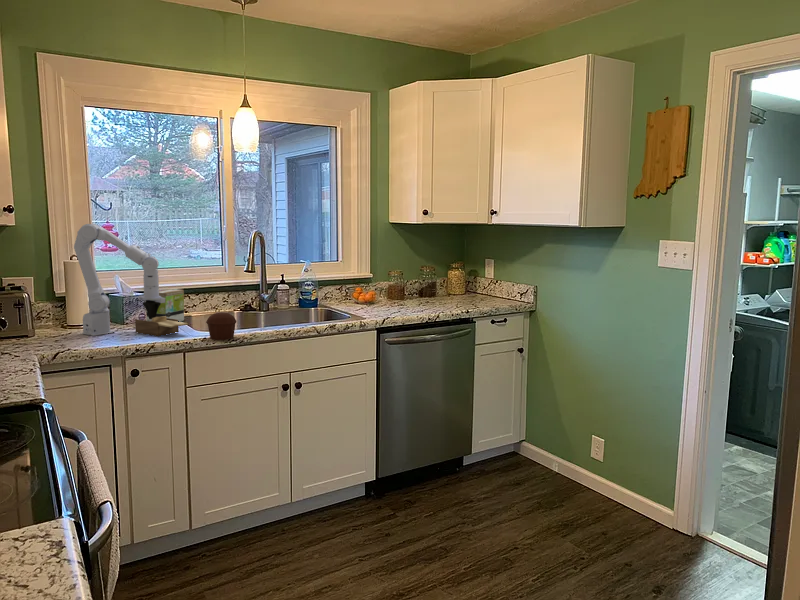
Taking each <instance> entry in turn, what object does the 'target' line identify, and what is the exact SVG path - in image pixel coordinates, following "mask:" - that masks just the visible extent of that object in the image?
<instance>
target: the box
mask: <svg viewBox="0 0 800 600" xmlns="http://www.w3.org/2000/svg"><path fill="white" fill-rule="evenodd" d="M166 319H167V320H170V321H177V322H178V320H176V319H170V318H166ZM134 321H135V323H134V324H135V333H136V332H138V333H137V334H140V333H143V334H142V335H146V334H149V335H148V336H152V335H154V336H153V337H162V336H161V335H164V336H167V335H166V334H170V333H175V332H180V331H179V330H180V329H179V326H177V327H165V326H159V323H157V322H152V321H146V320H143V319H134ZM175 334H176V333H175ZM170 335H171V334H170Z"/></svg>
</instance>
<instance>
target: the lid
mask: <svg viewBox="0 0 800 600" xmlns="http://www.w3.org/2000/svg"><path fill="white" fill-rule="evenodd" d="M152 322H157V323H159V326H165V327H177V326H178V327H182V326H188V325H189V323H188V322H184V321H179V322H177V321H170V320H167V319H166V316H162V317H155V318H152Z"/></svg>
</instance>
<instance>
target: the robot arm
mask: <svg viewBox="0 0 800 600" xmlns="http://www.w3.org/2000/svg"><path fill="white" fill-rule="evenodd" d="M96 241H106V242H107V243H108V244H111V245H113V246H114V247H116V249H119V250H121V251H122V252H124V254H125V258H126V259H127V258H128V259H129V260H131V262H133V263H134V264H137V265H138V266H141V267H142V269H143V276H142V277H143V295H142V294H141V295H138V297H137V298H138V301H144V302H142V305H143V307H144V308H145V311H146V310H147V313H148V317H149V319H152V318H155V317H156V314H157V310H158V308H159V306H160V304H161V303H165V298H162V297H161V296H159V290H160V286H159V285H160V284H159V282H160V281H159V280H160V279H159V269H158V268H159V264H160V263H159V260H158V259H157V258H156V257H155V256H152V254H151V253H147V252H146V251H144V250H143V249H141V246H140V245H135V244H132V245H131V244H128V243H126V242H125V241H124V240H122V239H121V238H119V237H117V235H115V234H113V233H112V232H111V231H110V230H108V229H106V228H103V227H101V226H100V225H99V224H96V223H86V224H83V225H82V226H81V227H80V228H79V229H78V231H77V234H76V239H75V242H74V245H73V249H74V251H75V252H74V253H75V255H76V258H77V261H78V264H79V266H80V270H81V274H82V276H83V280H84V282H85V286H86V288H87V295H88V303H87V305H88V308H89V312H87V313H84V314H83V316H82V333H81V334H83V335H88V336H92V337H93V336H94V337H95V336H100V335H101V336H102V335H108V333H109V334H114V333H113V332H115V333H116V331H114V330H111V320H110V319H111V317H110V309H109V308H108V307H109V305H110V303H111V301H110V298H109V296H108V295H107V294H106V293H105V290H104V289H103V287H102V285H101V283H100V279H99V277H98V273H97V270H96V266H95V264H94V260H93V258H92V255H91V252H90V248H91V246H92V245H93V244H94V242H96ZM155 300H156V301H155Z"/></svg>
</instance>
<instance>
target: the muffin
mask: <svg viewBox="0 0 800 600" xmlns="http://www.w3.org/2000/svg"><path fill="white" fill-rule="evenodd" d="M236 323H237V319H236V318H235V316H234V315H233V314H230V313H229V312H224V311H223V312H215V313H213V314H211V315H210V316H208V318H207V320H206V322H205V324H207V329H208V334H209V338H210V339H211V340H214V341H215V340H216V341H224V340H231V339H233V338H234V336H235V329H236Z"/></svg>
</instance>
